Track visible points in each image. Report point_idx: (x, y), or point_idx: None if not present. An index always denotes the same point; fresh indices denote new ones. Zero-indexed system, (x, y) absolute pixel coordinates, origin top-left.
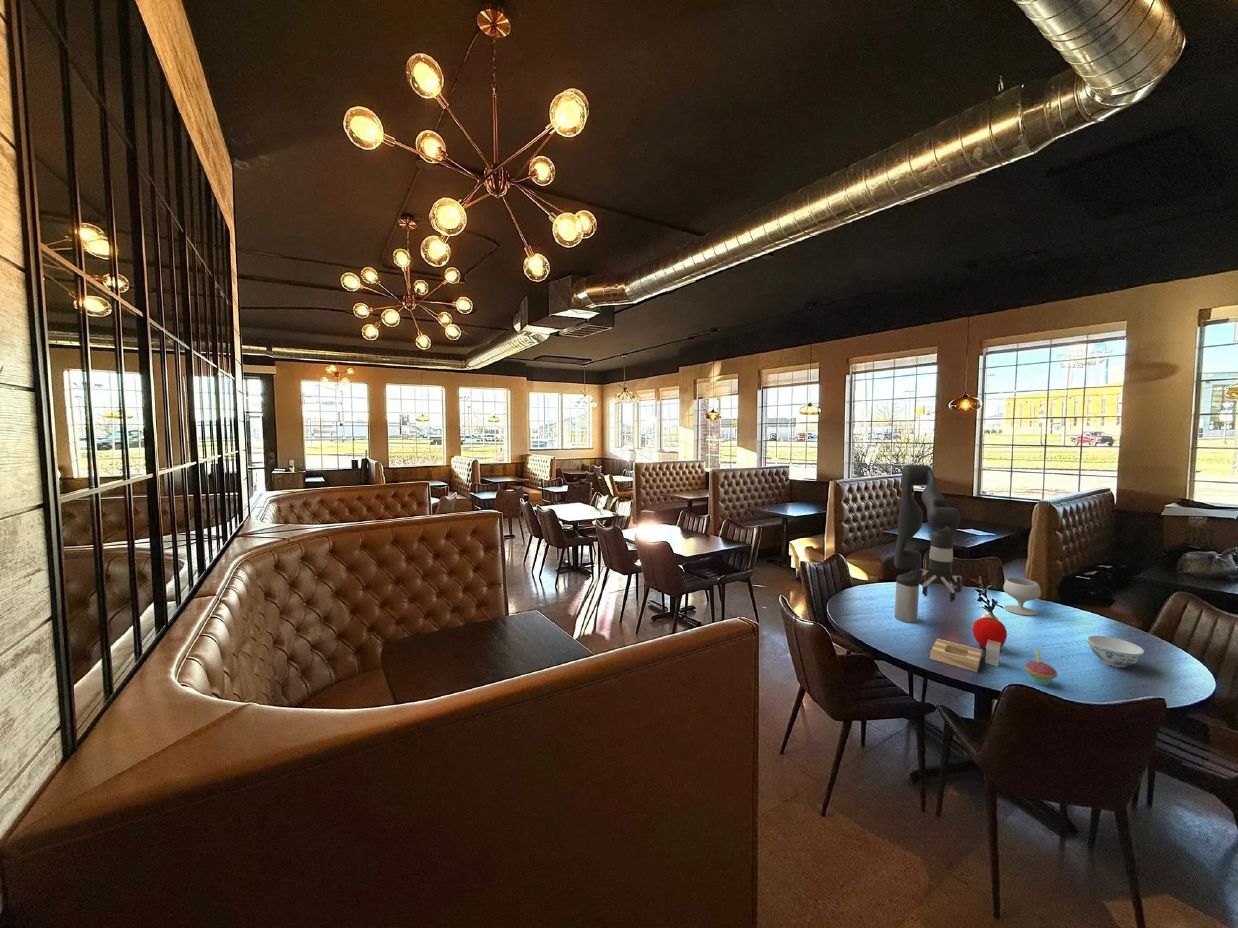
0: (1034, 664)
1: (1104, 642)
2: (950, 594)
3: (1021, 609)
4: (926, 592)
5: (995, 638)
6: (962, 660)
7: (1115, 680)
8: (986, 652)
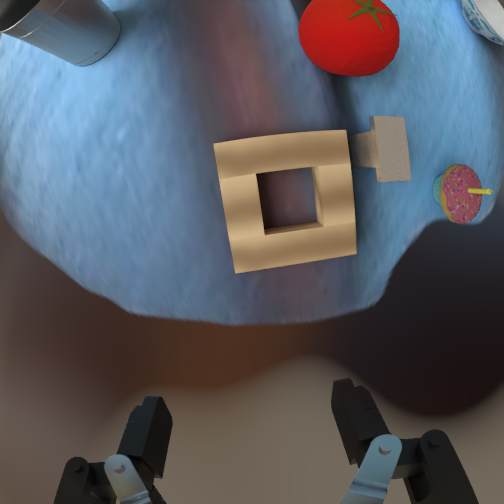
0: (463, 208)
1: None
2: (347, 451)
3: None
4: (166, 439)
5: (376, 72)
6: (320, 259)
7: (494, 90)
8: (367, 166)
